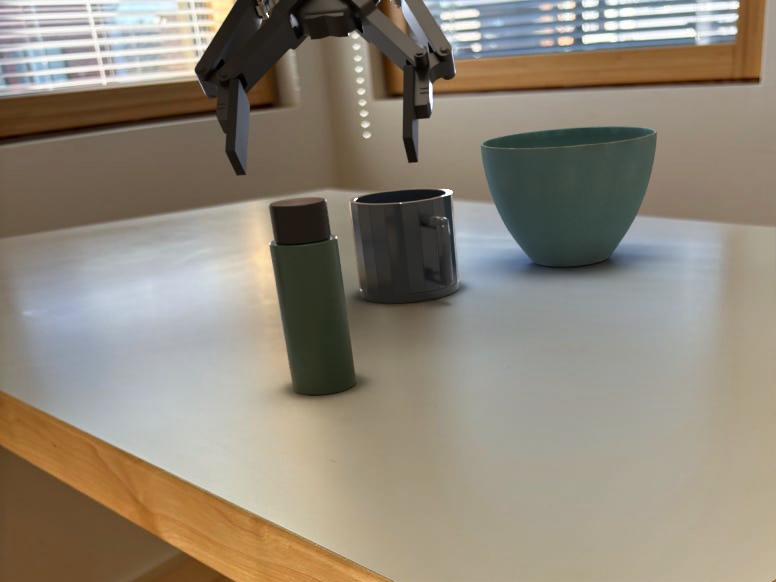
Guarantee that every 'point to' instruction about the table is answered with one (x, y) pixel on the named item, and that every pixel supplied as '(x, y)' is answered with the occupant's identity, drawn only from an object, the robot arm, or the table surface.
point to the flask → (311, 296)
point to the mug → (405, 244)
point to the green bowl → (569, 189)
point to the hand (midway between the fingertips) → (322, 157)
